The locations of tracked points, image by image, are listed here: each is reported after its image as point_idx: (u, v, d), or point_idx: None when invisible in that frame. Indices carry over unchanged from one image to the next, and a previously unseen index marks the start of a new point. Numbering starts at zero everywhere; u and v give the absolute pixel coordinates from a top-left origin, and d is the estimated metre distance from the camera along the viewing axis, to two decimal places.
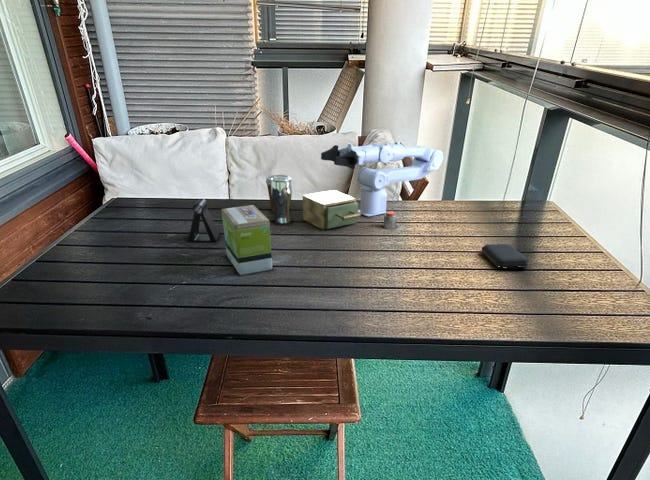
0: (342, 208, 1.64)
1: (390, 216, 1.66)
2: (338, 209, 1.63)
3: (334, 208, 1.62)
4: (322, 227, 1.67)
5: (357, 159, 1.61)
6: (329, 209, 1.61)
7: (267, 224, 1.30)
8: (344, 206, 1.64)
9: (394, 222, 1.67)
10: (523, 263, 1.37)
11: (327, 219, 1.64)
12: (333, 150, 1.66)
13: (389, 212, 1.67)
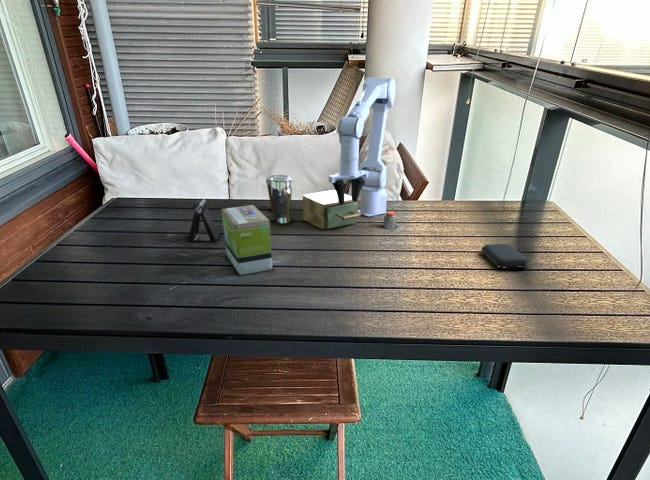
0: (342, 208, 1.64)
1: (390, 216, 1.66)
2: (338, 209, 1.63)
3: (334, 208, 1.62)
4: (322, 227, 1.67)
5: None
6: (329, 209, 1.61)
7: (267, 224, 1.30)
8: (344, 206, 1.64)
9: (394, 222, 1.67)
10: (523, 263, 1.37)
11: (327, 219, 1.64)
12: None
13: (389, 212, 1.67)
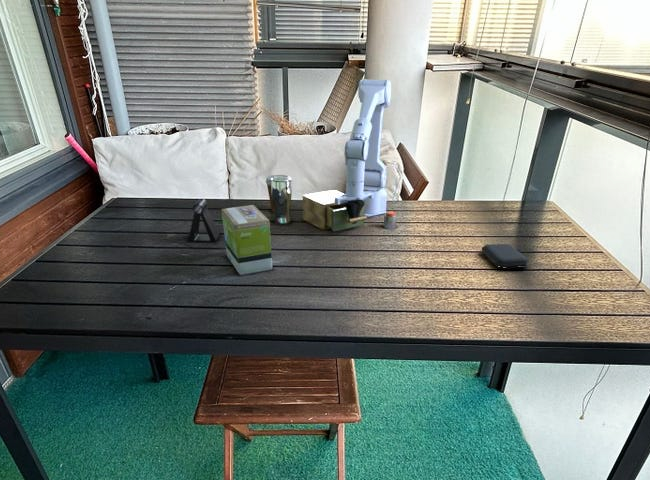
0: None
1: (390, 216, 1.66)
2: (344, 212, 1.61)
3: (340, 211, 1.60)
4: (322, 227, 1.67)
5: None
6: (335, 212, 1.59)
7: (267, 224, 1.30)
8: None
9: (394, 222, 1.67)
10: (523, 263, 1.37)
11: (333, 222, 1.61)
12: None
13: (389, 212, 1.67)
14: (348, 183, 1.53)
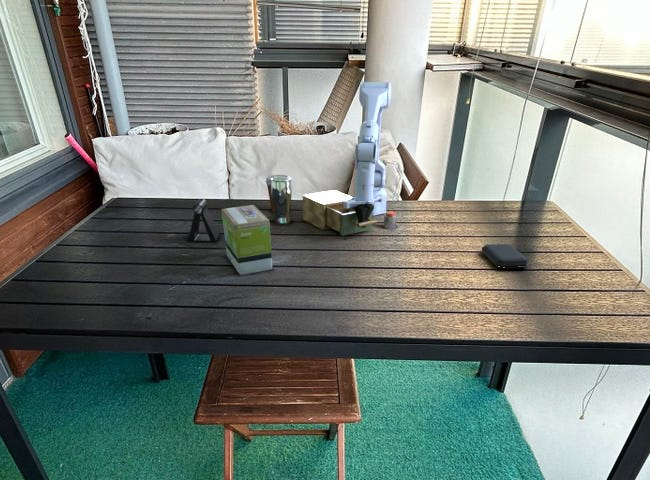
0: None
1: (390, 216, 1.66)
2: (353, 216, 1.58)
3: (349, 215, 1.56)
4: (322, 227, 1.67)
5: None
6: (344, 216, 1.56)
7: (267, 224, 1.30)
8: None
9: (394, 222, 1.67)
10: (523, 263, 1.37)
11: (341, 226, 1.58)
12: None
13: (389, 212, 1.67)
14: (357, 186, 1.50)
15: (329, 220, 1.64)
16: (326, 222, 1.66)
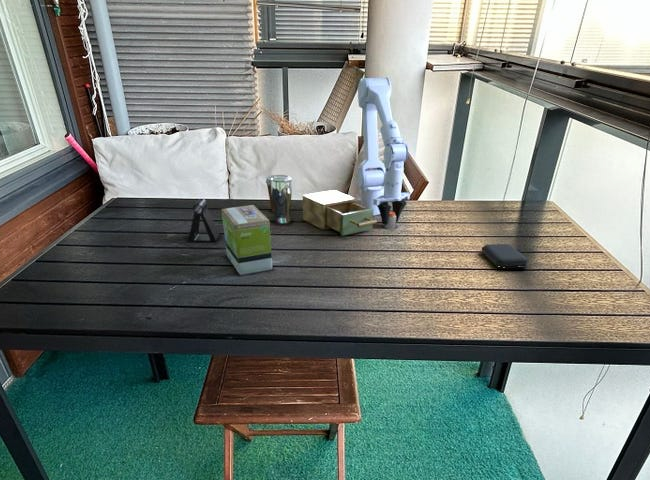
0: (357, 214, 1.58)
1: (390, 216, 1.66)
2: (353, 216, 1.58)
3: (349, 215, 1.56)
4: (322, 227, 1.67)
5: None
6: (344, 216, 1.56)
7: (267, 224, 1.30)
8: (359, 212, 1.58)
9: (394, 222, 1.67)
10: (523, 263, 1.37)
11: (341, 226, 1.58)
12: None
13: (389, 212, 1.67)
14: (387, 185, 1.60)
15: (329, 220, 1.64)
16: (326, 222, 1.66)
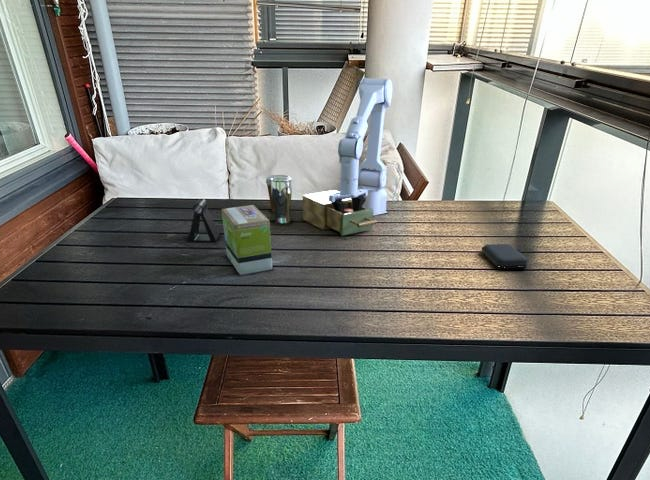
0: (357, 214, 1.58)
1: None
2: (353, 216, 1.58)
3: (349, 215, 1.56)
4: (322, 227, 1.67)
5: None
6: (344, 216, 1.56)
7: (267, 224, 1.30)
8: (359, 212, 1.58)
9: None
10: (523, 263, 1.37)
11: (341, 226, 1.58)
12: None
13: (347, 209, 1.62)
14: (342, 181, 1.56)
15: (329, 220, 1.64)
16: (326, 222, 1.66)
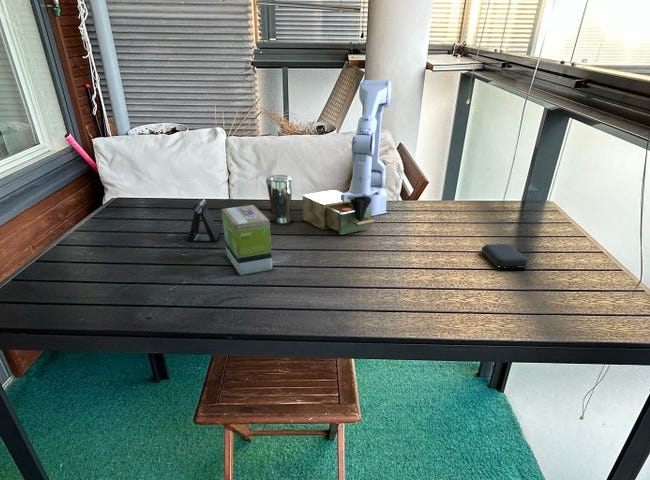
0: None
1: None
2: (351, 215, 1.58)
3: (347, 214, 1.57)
4: (322, 227, 1.67)
5: None
6: (342, 215, 1.56)
7: (267, 224, 1.30)
8: None
9: None
10: (523, 263, 1.37)
11: (340, 225, 1.58)
12: None
13: (345, 209, 1.63)
14: (355, 179, 1.50)
15: (327, 219, 1.65)
16: (325, 221, 1.66)
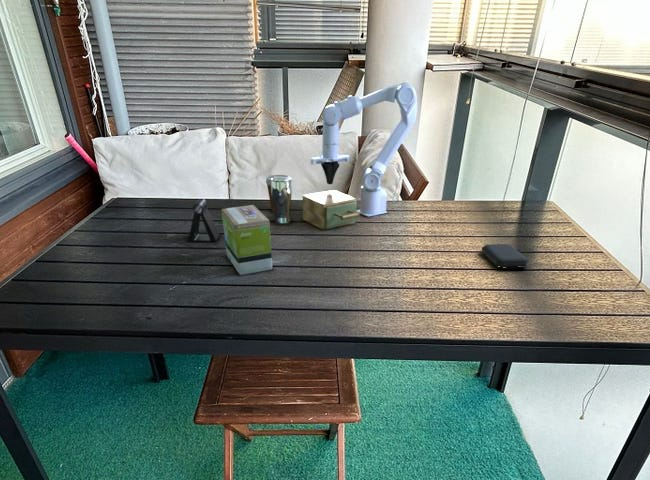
0: (341, 207, 1.65)
1: None
2: (337, 208, 1.64)
3: (333, 207, 1.63)
4: (322, 227, 1.67)
5: None
6: (328, 208, 1.62)
7: (267, 224, 1.30)
8: (343, 205, 1.65)
9: None
10: (523, 263, 1.37)
11: (326, 218, 1.64)
12: None
13: None
14: (323, 145, 1.69)
15: None
16: None
